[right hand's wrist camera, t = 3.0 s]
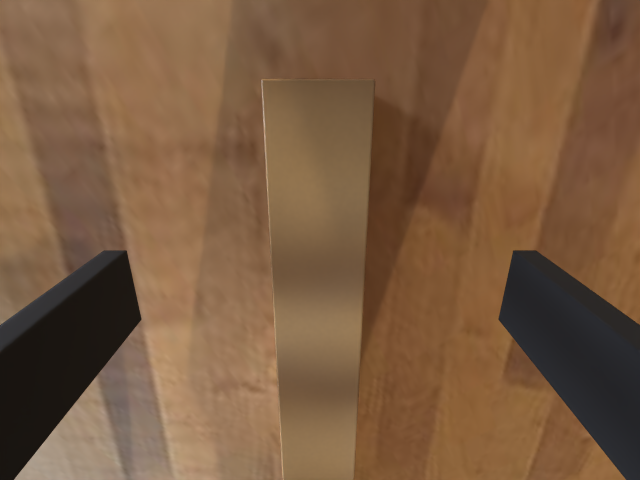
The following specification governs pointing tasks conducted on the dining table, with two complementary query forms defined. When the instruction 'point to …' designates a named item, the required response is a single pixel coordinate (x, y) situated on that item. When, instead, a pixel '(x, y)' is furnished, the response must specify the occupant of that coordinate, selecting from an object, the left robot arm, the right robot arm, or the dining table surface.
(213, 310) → the dining table surface
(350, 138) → the plank
